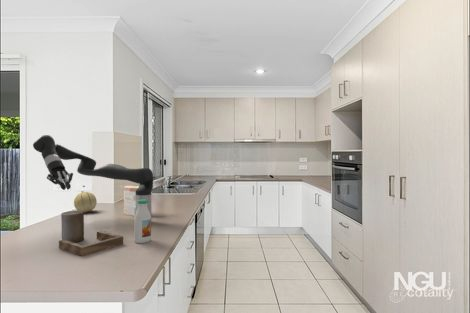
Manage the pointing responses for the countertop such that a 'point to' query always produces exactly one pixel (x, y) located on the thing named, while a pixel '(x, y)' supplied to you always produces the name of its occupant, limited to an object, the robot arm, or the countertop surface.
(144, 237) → the milk bottle
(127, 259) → the countertop surface
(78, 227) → the pillar candle
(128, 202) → the coffeecake box
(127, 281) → the countertop surface
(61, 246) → the display frame
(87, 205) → the cantaloupe
